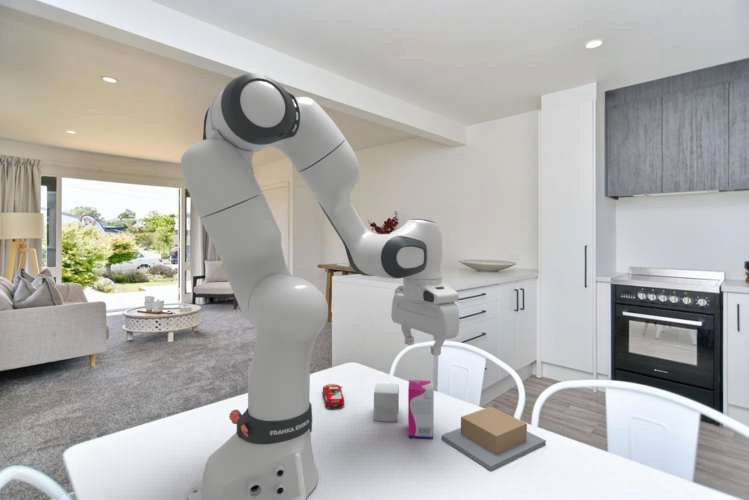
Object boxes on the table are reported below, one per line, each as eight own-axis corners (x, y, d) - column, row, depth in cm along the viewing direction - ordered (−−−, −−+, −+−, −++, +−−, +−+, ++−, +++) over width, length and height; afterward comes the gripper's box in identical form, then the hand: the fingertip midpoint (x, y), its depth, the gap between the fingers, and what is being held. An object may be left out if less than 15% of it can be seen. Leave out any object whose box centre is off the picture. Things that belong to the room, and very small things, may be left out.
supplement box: (432, 426, 94) (433, 380, 94) (433, 439, 88) (434, 390, 88) (408, 425, 95) (408, 379, 94) (407, 438, 89) (408, 388, 88)
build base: (490, 471, 77) (491, 446, 77) (441, 439, 88) (441, 417, 88) (545, 444, 87) (546, 422, 86) (494, 419, 98) (495, 399, 98)
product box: (397, 422, 96) (398, 393, 96) (373, 421, 97) (373, 392, 97) (399, 411, 102) (399, 383, 102) (375, 410, 103) (376, 382, 103)
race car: (321, 391, 115) (321, 378, 115) (340, 390, 116) (340, 377, 116) (324, 411, 102) (324, 396, 102) (345, 410, 103) (345, 395, 103)
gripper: (385, 285, 97) (385, 340, 98) (442, 297, 80) (441, 364, 81) (405, 283, 100) (405, 336, 101) (464, 294, 83) (463, 358, 84)
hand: (421, 349), depth 91 cm, fingers open, 8 cm apart
